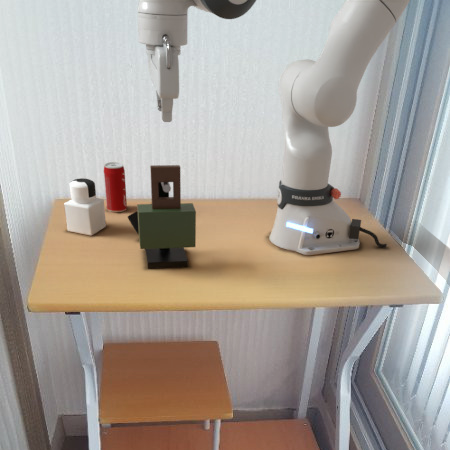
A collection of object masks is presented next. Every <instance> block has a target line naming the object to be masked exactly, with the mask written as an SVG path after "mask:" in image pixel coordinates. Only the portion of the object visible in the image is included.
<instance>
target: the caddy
mask: <svg viewBox="0 0 450 450" xmlns="http://www.w3.org/2000/svg"><path fill="white" fill-rule="evenodd" d="M149 169H150V192H151V203H144V204H143V203H142V204H141V203H139V204H138V203H137V204H136V209H137V211H138V230H139V235H138V243H139V248H140V250H145V249H158V248H184V249H186V248H187V249H188V248H196V245H197V244H196V241H197V240H196V238H197V237H196V236H197V234H196V233H197V232H196V231H197V219H196V218H197V211H196V208H195V206H194V203H193V202H192V203H191V202H190V203H188V202H187V203H185V202H184V203H181V202H182V201H181V200H182V199H181V196H182V195H181V194H182V193H181V192H182V191H181V190H182V189H181V186H182V185H181V166H180V165H179V164H171V165H170V164H163V165H162V164H161V165H150V168H149ZM158 182H169V183H172V194H173V195H172V196H169V197H159V191H158Z"/></svg>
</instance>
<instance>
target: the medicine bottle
mask: <svg viewBox="0 0 450 450" xmlns="http://www.w3.org/2000/svg"><path fill="white" fill-rule="evenodd" d="M68 185H69V193H70V199H69V200H67V201H66V202H64V203H63V206H64V214H65V221H66V223H65V224H66V230H67V232H71V233H75V234H81V235H85V236H94V235H95V234H97V233H98V232H100V231H101V230H103V229H104V228H107V221H106V209H105V200H104V199H103V198H99V197H97V191H96V183H95V181H94V180H91V179H89V178H85V177H84V178H83V177H82V178H81V177H80V178H75V179H73V180H71V181H70V182H69V184H68Z"/></svg>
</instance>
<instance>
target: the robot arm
mask: <svg viewBox="0 0 450 450" xmlns="http://www.w3.org/2000/svg"><path fill="white" fill-rule="evenodd" d="M410 1H411V0H344V2H343V3H342V5H341V6H340V8H339V9H338V10H337V13H336V14H335V15H334V17H333V18H332V20H331V21H330V24H329V27H328V35H327V38H326V41H325V44H324V45H323V48H322V51H321V53H320V55H319V57H318V59H317V60H316V61H315V60H313V59H300V60H296V61H293V62H290V63H289V64H287V65H286V67H285V68H284V69H283V70H282V72H281V73H280V75H279V79H278V82H277V88H278V94H279V98H280V103H281V119H282V130H283V131H282V132H283V133H282V134H283V156H282V168H281V179H280V180H279V182H278V189H277V195H276V205H277V209H276V214H275V218H274V222H273V226H272V229H271V230H270V231H271V232H270V234H269V237H268V239H269V241H270V242H271V244H273V245H275V246H276V247H278V248H281V249H284V250H288V251H292V252H296V253H299V254H301V255H304V256H313V255H321V254H322V255H323V254H329V253H337V252H345V251H354V250H358V249H359V248H360V242H361V241H360V239H359V236H360V232H362V233H364V234H367V235H368V236H370V237H372V238H373V241H374V242H375V245H376V246H377V247H379V248H387V247H388V246H387V245H388V244H387V243H381V242H380V241H379V237H378V236H377V235H376V234H375V233H374V232H373V231H371V230H369V229H367V228H364V227H361V225H362V219H357V218H352V219H351V217H350V216H349V214H348V213H347V212H346V211H345V210H344V209H343V208H342V207H341V206H340V205H339V204H338V203H337V202H336V201H334V200H338V199H340V198H341V196H342V191H340V190H339V188H335V187H334V186H333V185H332V184H330V183H329V177H330V170H331V164H332V156H333V149H332V148H333V146H332V143H331V140H330V133H329V132H330V131H329V128H335V127H339V126H341V125H343V124H344V123H346V122H347V121H348V120H349V119H350V117H351V116H352V115H353V113H354V111H355V109H356V105H357V95H358V93H357V92H358V89H359V86H360V84H361V82H362V79H363V77H364V74H365V72H366V70H367V68H368V66H369V64H370V62H371V60H372V58H373V57H374V55H375V53H376V52H377V51H378V50H379V47H381V45H382V43H383V42H384V41H385V39H386V38H387V37H388V35H389V33H390V32H391V31H392V30H393V28H394V26H395V25H396V23H398V20H399V19H400V17H401V16H402V15H403V13H404V11H405V10H406V8H407V7H408V5H409V2H410ZM256 2H257V0H138V5H137V27H138V31H137V32H138V43H140V44H141V45H145V52H146V55H147V63H148V70H149V71H148V72H149V77H150V80H151V82H152V84H153V87H154V89H155V94H156V108H157V110H158V111H159V112H161V119H162V122H164V123H172V122H173V108H174V100H176V99H178V98H179V96H180V65H179V64H180V63H179V62H180V61H179V56H180V55H181V54H182V53H181V49H182V48H181V47H182V46H186V45H188V19H189V18H188V16H189V15H188V14H189V13H188V12H189V8H190V7H194V8H196V9H198V10H201V11H204V12H207V13H211V14H213V15H215V16H216V17H219V18H221V19H224V20H234V19H238V18H240V17H243V16H244V15H245V14H246V13H248V12H249V11H250V10H251V8H252V7H253V6H254V4H255V3H256Z"/></svg>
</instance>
